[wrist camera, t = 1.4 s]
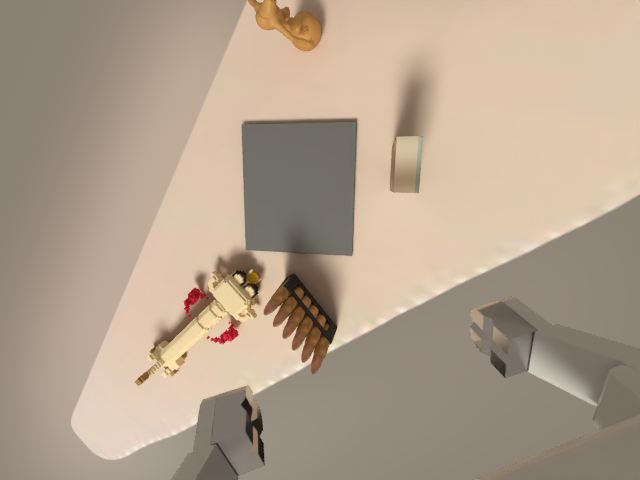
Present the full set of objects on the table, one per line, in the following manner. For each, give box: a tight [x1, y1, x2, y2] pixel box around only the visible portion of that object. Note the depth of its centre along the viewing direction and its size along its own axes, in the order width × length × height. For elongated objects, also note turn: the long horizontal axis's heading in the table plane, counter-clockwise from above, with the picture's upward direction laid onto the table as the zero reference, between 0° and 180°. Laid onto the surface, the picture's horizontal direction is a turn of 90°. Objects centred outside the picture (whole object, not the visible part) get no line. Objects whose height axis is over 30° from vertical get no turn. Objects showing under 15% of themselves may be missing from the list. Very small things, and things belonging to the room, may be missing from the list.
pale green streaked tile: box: [390, 136, 423, 193], centre depth 35 cm, size 6×2×10 cm, turn 0°
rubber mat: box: [242, 122, 357, 256], centre depth 43 cm, size 18×16×1 cm
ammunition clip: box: [264, 274, 337, 374], centre depth 40 cm, size 11×2×12 cm, turn 39°
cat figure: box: [135, 269, 261, 386], centre depth 46 cm, size 10×9×25 cm
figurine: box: [248, 0, 322, 51], centre depth 34 cm, size 8×6×12 cm
